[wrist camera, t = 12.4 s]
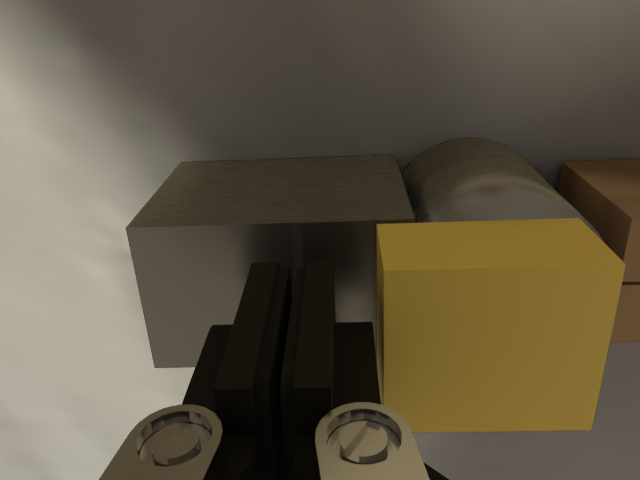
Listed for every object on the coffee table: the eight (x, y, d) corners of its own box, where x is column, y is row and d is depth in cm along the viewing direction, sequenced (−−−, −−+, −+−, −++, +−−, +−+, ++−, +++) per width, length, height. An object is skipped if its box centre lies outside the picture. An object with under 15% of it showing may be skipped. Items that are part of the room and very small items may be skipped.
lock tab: (377, 368, 13) (383, 433, 11) (376, 224, 11) (383, 270, 10) (555, 365, 13) (591, 430, 11) (579, 217, 11) (625, 264, 9)
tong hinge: (200, 286, 18) (157, 381, 13) (178, 148, 16) (121, 210, 12) (531, 277, 17) (594, 373, 13) (549, 134, 15) (629, 193, 11)
